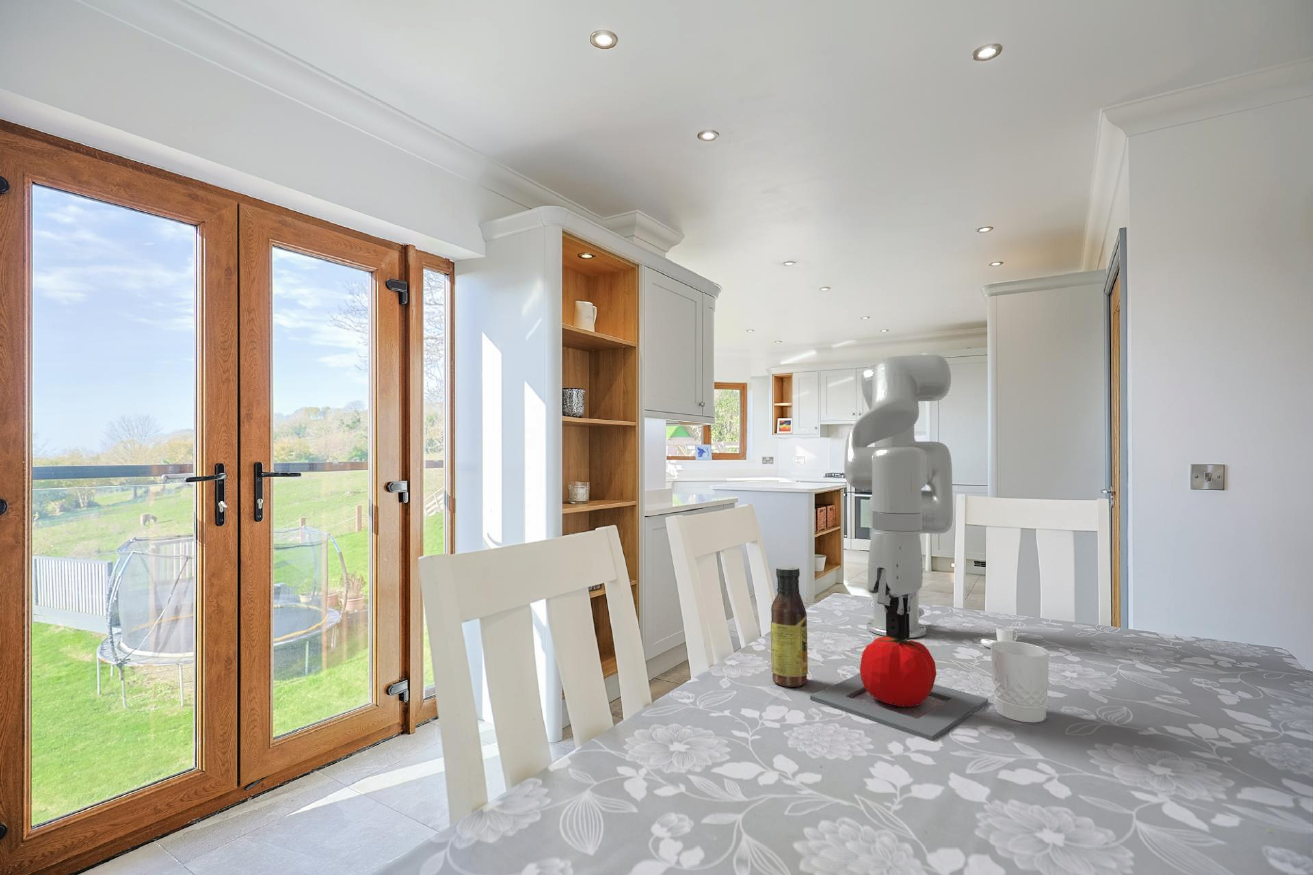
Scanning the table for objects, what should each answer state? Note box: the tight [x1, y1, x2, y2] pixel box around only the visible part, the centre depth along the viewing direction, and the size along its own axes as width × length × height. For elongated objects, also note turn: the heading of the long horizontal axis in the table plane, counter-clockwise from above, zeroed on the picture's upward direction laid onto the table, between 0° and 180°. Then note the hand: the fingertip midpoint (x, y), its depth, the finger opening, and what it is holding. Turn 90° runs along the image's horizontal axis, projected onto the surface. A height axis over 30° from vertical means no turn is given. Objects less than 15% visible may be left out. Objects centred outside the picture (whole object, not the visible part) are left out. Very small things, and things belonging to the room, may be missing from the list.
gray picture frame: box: [809, 673, 989, 741], centre depth 103 cm, size 20×20×1 cm
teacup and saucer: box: [980, 626, 1019, 649], centre depth 132 cm, size 9×8×4 cm
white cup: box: [989, 641, 1050, 724], centre depth 98 cm, size 8×8×10 cm
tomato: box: [859, 636, 937, 708], centre depth 103 cm, size 12×12×10 cm
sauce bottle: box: [770, 565, 809, 688], centre depth 112 cm, size 6×6×20 cm
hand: (897, 637), depth 103 cm, fingers closed
